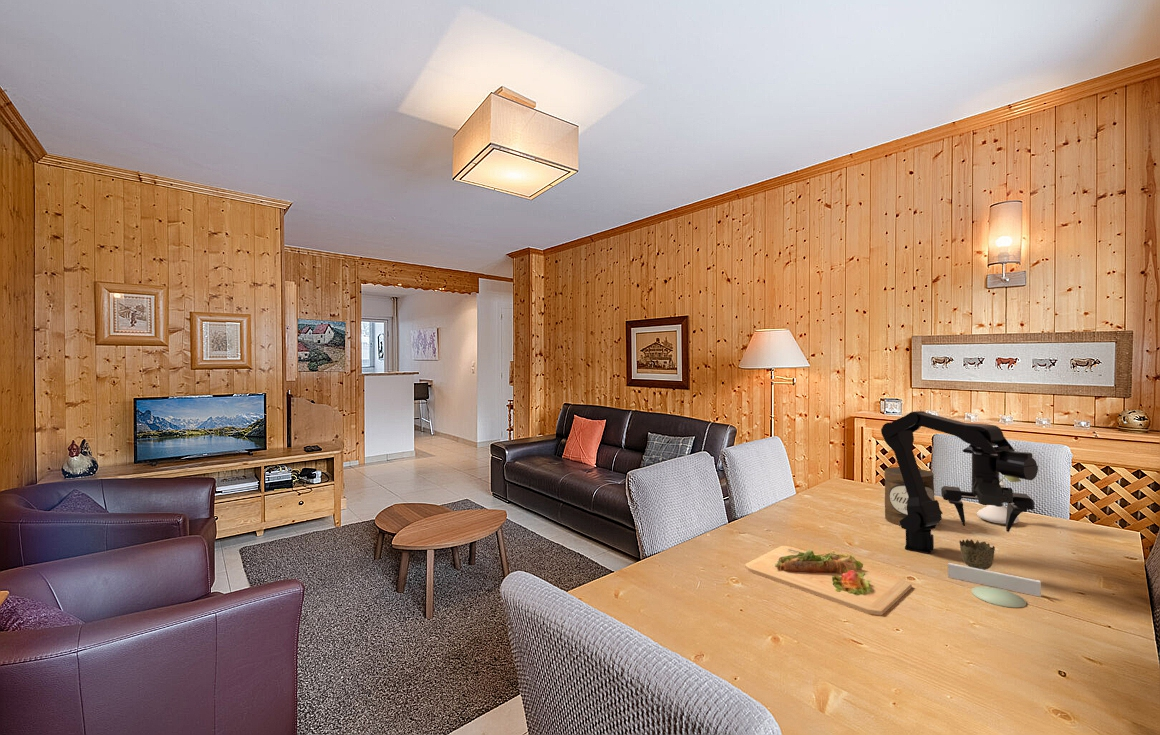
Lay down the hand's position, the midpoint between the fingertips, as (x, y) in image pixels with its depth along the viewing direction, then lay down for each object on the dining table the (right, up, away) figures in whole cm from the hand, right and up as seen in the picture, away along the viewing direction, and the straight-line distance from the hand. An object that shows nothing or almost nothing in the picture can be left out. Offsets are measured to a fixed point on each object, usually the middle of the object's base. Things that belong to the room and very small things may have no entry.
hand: (985, 528), depth 131 cm
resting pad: (-8, -12, -13) cm, 20 cm away
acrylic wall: (-4, -12, -7) cm, 15 cm away
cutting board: (-44, -14, 0) cm, 46 cm away
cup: (-2, -12, 0) cm, 13 cm away
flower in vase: (+38, -11, +39) cm, 56 cm away
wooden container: (+8, -12, +42) cm, 45 cm away
